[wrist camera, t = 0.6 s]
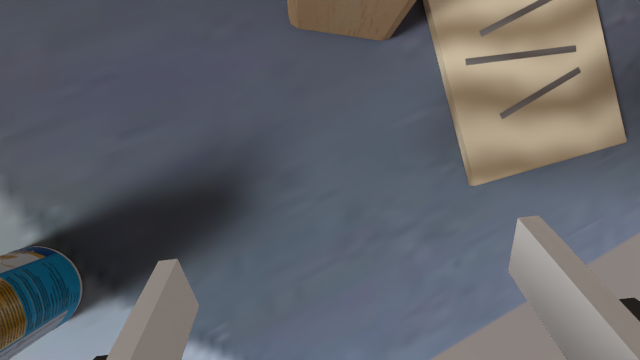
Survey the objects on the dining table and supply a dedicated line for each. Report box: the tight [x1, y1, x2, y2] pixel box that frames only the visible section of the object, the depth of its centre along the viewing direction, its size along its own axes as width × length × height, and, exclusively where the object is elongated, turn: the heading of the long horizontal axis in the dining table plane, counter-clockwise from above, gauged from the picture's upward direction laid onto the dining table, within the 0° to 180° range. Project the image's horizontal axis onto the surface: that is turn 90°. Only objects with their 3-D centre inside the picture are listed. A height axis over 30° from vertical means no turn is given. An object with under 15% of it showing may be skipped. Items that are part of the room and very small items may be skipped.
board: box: [423, 0, 627, 186], centre depth 34 cm, size 28×16×1 cm, turn 16°
